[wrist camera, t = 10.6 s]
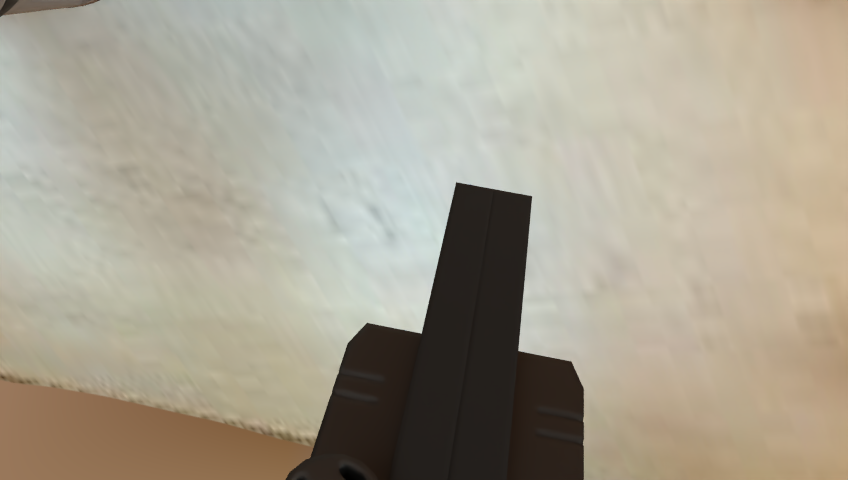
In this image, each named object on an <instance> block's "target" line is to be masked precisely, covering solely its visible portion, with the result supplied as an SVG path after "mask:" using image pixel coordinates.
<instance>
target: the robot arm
mask: <svg viewBox="0 0 848 480" xmlns="http://www.w3.org/2000/svg"><path fill="white" fill-rule="evenodd" d="M97 1H99V0H0V17H1V16H2V15H9V14H17V13H26V12H34V11H42V10H51V9H59V8H71V7H78V6H84V5H88V4H91V3H94V2H97ZM531 202H532V196H527V195H522V194H516V193H511V192H506V191H500V190H495V189H489V188H484V187H478V186H473V185H468V184H462V183H457V182H456V186H455V191H454V195H453V199H452V204H451V208H450V212H449V217H448V221H447V226H446V230H445V234H444V239H443V243H442V247H441V252H440V256H439V261H438V265H437V269H436V274H435V278H434V283H433V287H432V291H431V296H430V300H429V304H428V309H427V313H426V318H425V322H424V326H423V331H422V334H420V333H415V332H410V331H405V330H400V329H395V328H390V327H385V326H379V325H374V324H369V323H367V324H366V325H365V326H364V327H363V328H362V329H361V330H360V331H359V332H358V333H357V334H356V335H355V336H354V337H353V339H352V340H351V341H350V342H349V343H348V345H347V348H346V351H345V354H344V357H343V360H342V363H341V366H340V369H339V374H338V375H337V378H336V381H335V384H334V387H333V390H332V395H331V396H330V399H329V402H328V406H327V409H326V412H325V415H324V418H323V421H322V424H321V427H320V430H319V433H318V436H317V439H316V442H315V445H314V448H313V452H312V454H311V457H310V458H309V459H306V460H305V461H303V462H302V463H301V464H300V465H299V466H297V467H296V468H295V469H293V470H292V471H291V472H290V473H289V474H288V477H287V478H286V480H584V446H583V440H584V422H583V417H584V389H583V386H582V384H581V382H580V380H579V377H578V375H577V373H576V371H575V369H574V366H573V364H572V362H570V361H565V360H560V359H555V358H550V357H545V356H540V355H535V354H530V353H525V352H520V351H518V346H519V335H520V324H521V313H522V302H523V291H524V280H525V269H526V258H527V247H528V235H529V224H530V213H531Z"/></svg>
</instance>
